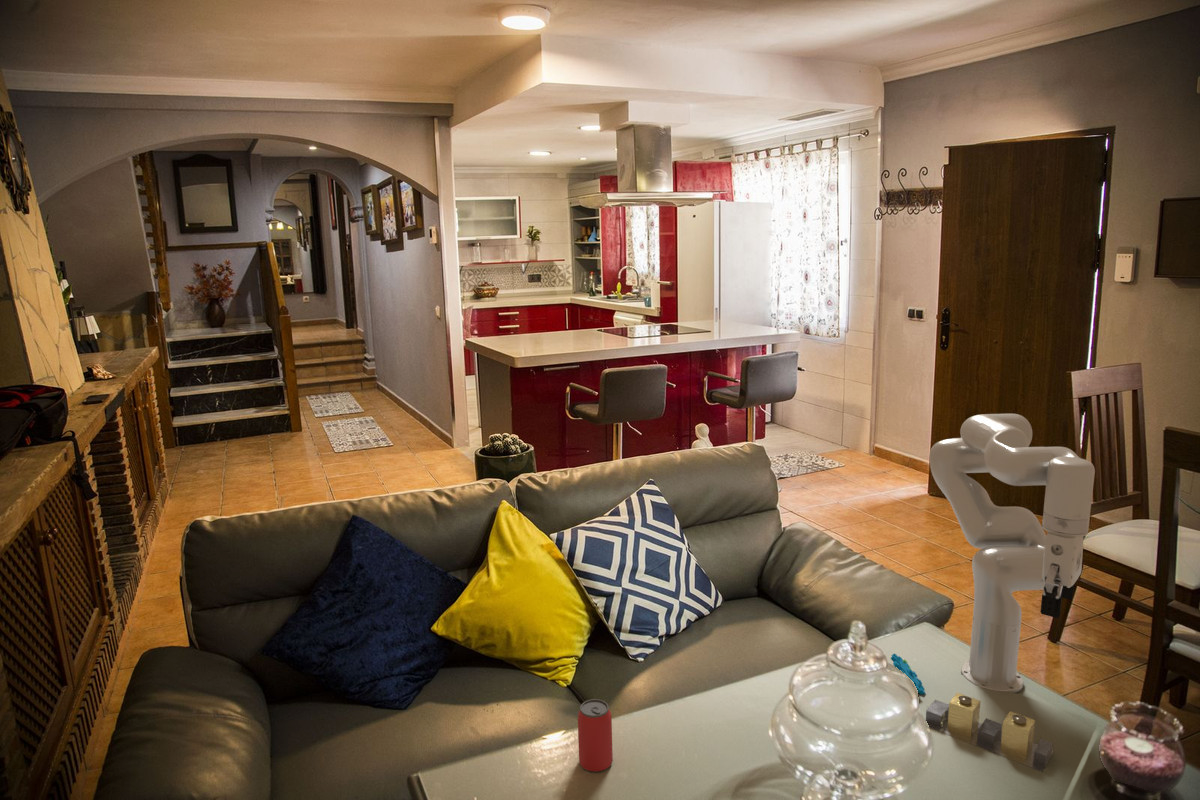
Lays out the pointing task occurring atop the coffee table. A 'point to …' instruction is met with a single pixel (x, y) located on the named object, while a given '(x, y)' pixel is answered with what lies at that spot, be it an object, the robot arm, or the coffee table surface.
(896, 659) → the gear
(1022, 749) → the brass nut block
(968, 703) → the seated nut block
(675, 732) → the coffee table surface
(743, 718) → the coffee table surface
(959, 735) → the rail
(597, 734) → the beer can
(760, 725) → the coffee table surface
